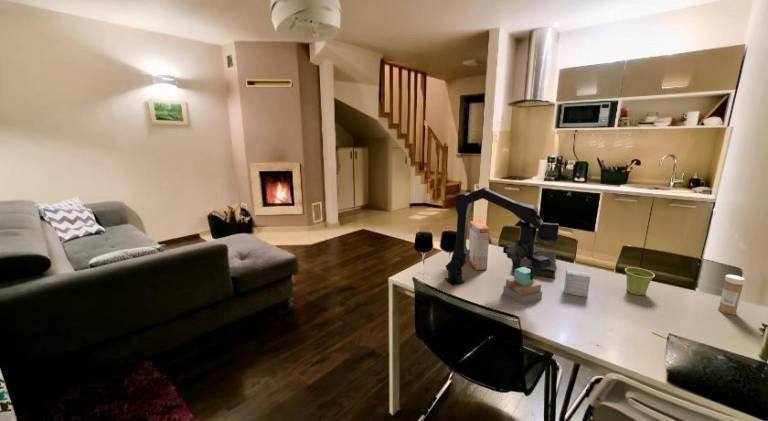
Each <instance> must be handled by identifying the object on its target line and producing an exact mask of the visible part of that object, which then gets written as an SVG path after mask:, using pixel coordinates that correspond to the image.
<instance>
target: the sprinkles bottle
mask: <svg viewBox="0 0 768 421" xmlns="http://www.w3.org/2000/svg"><path fill="white" fill-rule="evenodd" d="M745 282H746V278H744V277H742V276H740V275H736V274H726V275H725V278H724V285H723V288H722V291H721V292H722V293H721V296H720V300H719V301H720V302H719V306H718V308H717V309H718V310H719V311H720V312H722V313H724V314H728V315H734V316H735V315H736V314H738V313H737V309H738V307H739V303H740V300H741V294H742V291H743V286H744V284H745Z"/></svg>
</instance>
